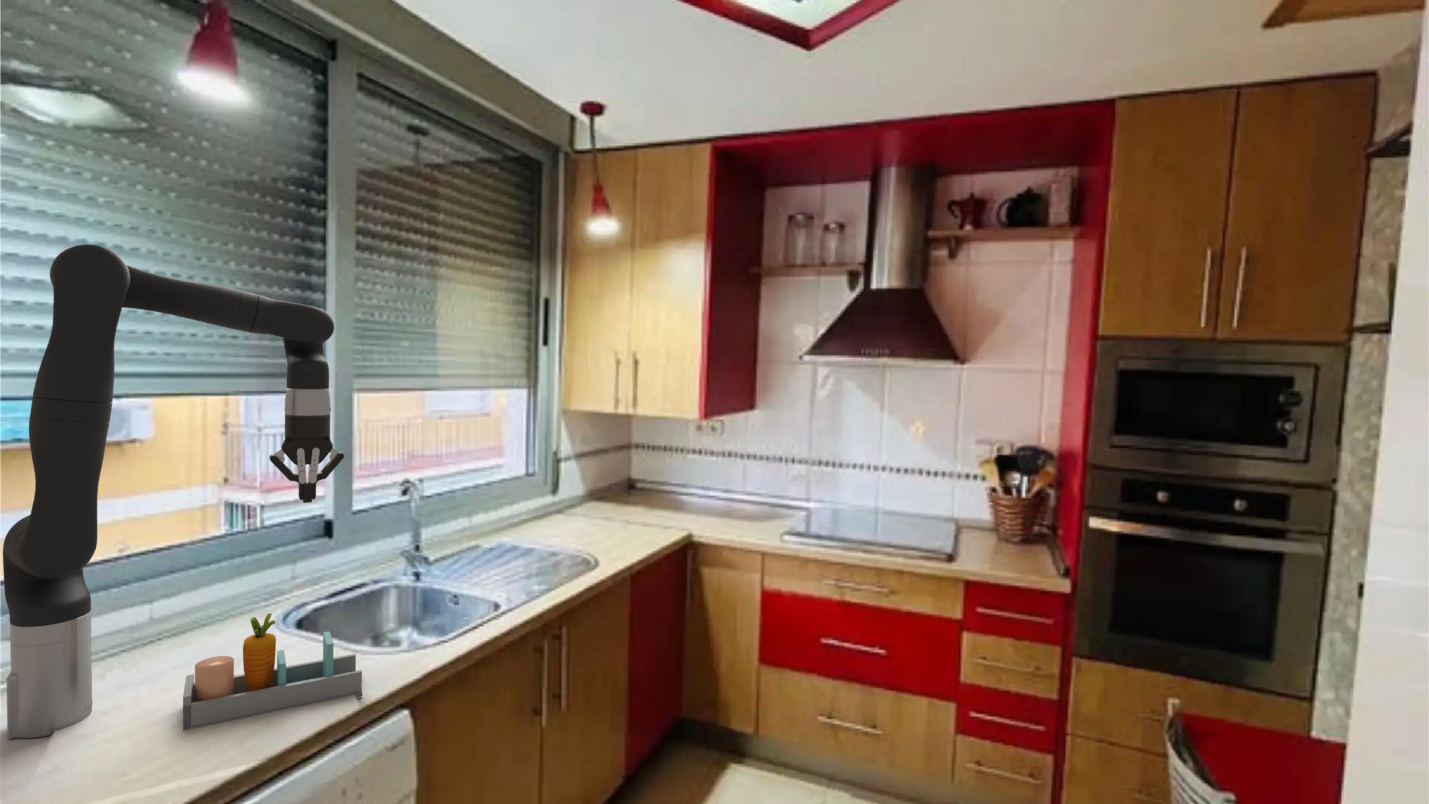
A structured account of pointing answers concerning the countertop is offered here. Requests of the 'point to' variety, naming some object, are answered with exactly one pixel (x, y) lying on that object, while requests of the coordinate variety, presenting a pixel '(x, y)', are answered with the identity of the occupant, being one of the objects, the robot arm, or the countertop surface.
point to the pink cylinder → (214, 678)
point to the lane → (274, 693)
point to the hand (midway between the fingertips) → (307, 501)
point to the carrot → (259, 655)
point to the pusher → (326, 661)
